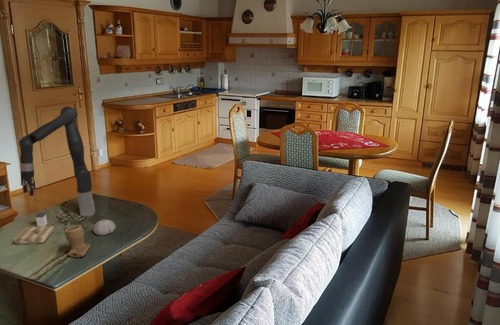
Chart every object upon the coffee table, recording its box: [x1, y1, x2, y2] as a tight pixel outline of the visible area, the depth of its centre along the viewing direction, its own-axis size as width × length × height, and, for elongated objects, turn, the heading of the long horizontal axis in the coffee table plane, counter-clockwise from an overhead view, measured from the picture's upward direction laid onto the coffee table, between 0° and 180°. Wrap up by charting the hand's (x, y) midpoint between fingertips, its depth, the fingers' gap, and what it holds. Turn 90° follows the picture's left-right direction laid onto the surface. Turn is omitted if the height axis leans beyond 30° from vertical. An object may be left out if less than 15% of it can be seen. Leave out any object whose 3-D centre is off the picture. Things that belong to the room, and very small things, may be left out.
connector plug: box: [35, 211, 48, 227], centre depth 266 cm, size 5×5×8 cm
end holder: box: [14, 225, 55, 246], centre depth 248 cm, size 16×16×4 cm
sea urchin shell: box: [93, 218, 116, 236], centre depth 256 cm, size 13×14×8 cm
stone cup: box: [64, 224, 91, 259], centre depth 229 cm, size 15×12×15 cm
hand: (28, 194), depth 260 cm, fingers open, 8 cm apart
